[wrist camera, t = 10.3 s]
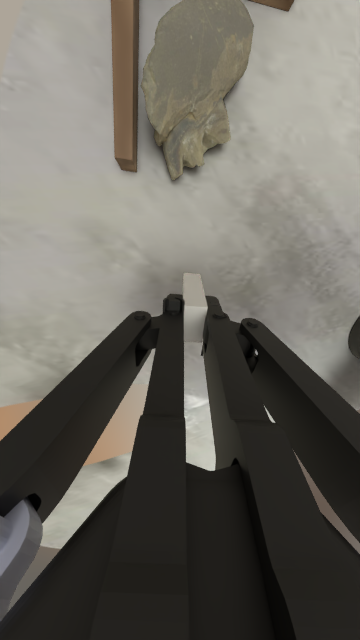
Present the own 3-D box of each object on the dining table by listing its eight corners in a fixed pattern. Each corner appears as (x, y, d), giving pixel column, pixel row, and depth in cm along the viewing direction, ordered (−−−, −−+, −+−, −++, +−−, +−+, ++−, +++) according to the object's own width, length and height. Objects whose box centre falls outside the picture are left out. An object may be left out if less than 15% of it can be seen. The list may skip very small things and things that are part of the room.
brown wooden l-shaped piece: (294, -18, 20) (325, -79, 16) (250, 189, 27) (265, 181, 23) (118, -71, 18) (106, -157, 14) (121, 169, 25) (114, 156, 21)
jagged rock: (147, 135, 27) (180, 195, 27) (97, 40, 17) (149, 135, 17) (238, 47, 22) (279, 117, 22) (244, -151, 13) (317, -26, 12)
